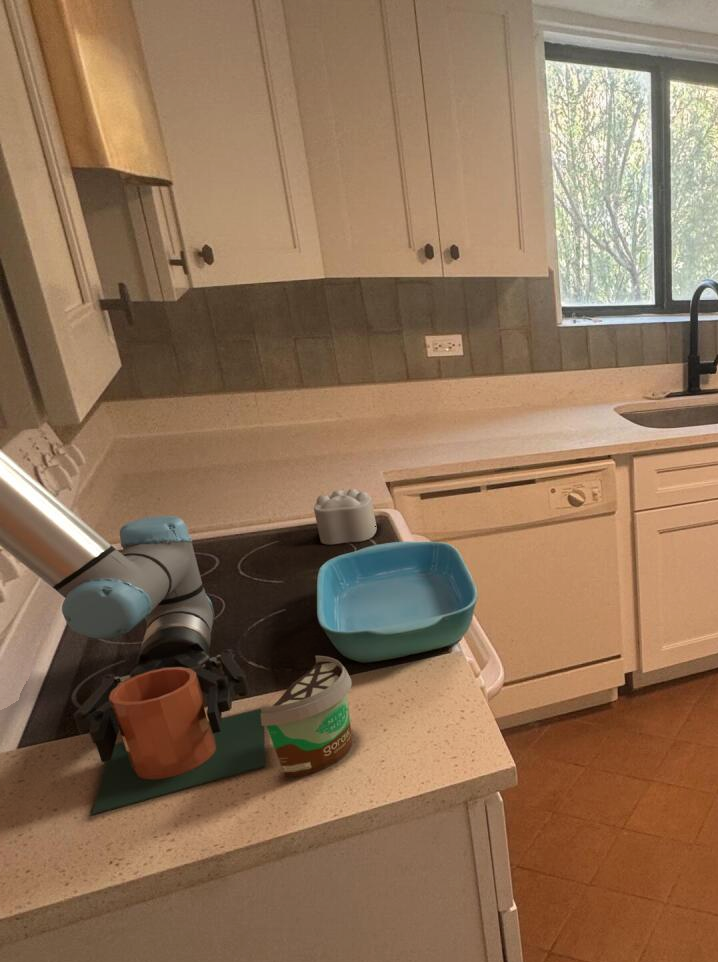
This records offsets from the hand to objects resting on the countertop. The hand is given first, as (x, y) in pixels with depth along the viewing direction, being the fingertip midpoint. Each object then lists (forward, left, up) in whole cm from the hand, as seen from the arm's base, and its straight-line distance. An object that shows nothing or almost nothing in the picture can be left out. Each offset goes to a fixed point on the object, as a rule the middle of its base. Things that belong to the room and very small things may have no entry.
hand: (159, 736), depth 87 cm
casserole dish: (-30, +29, -6) cm, 42 cm away
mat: (-4, +1, -6) cm, 7 cm away
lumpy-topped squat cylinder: (-79, +25, -6) cm, 83 cm away
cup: (-4, 0, -6) cm, 7 cm away
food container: (+4, +16, -6) cm, 17 cm away
